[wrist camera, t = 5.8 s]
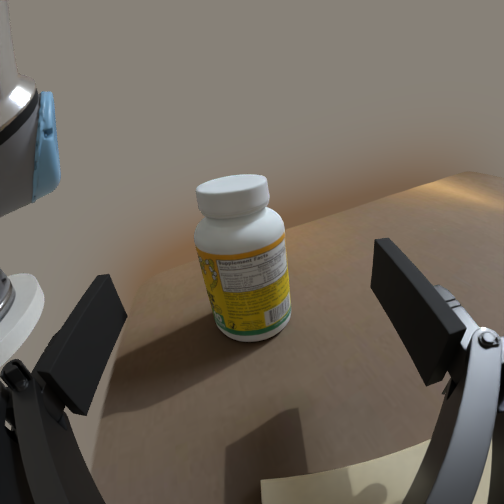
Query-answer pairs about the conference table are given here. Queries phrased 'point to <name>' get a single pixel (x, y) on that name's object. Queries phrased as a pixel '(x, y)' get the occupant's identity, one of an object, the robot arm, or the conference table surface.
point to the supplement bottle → (243, 257)
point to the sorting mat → (361, 482)
